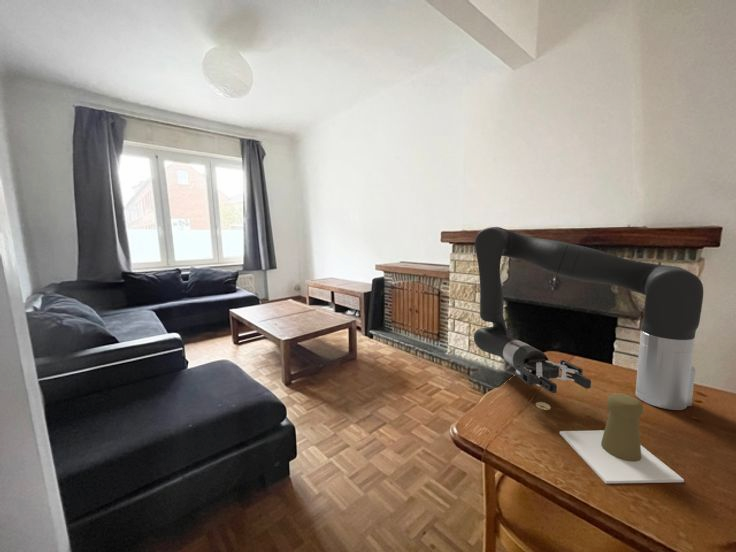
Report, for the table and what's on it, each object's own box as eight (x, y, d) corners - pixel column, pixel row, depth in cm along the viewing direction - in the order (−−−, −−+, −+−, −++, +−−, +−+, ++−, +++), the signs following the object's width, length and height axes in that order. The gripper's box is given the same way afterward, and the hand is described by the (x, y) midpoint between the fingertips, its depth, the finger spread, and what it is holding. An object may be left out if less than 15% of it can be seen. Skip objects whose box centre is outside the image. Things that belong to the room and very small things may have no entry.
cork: (593, 440, 61) (596, 390, 59) (620, 437, 61) (624, 387, 60) (620, 463, 55) (625, 407, 53) (650, 459, 55) (656, 404, 54)
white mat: (621, 432, 64) (621, 429, 64) (683, 482, 51) (684, 479, 51) (559, 433, 64) (559, 431, 64) (605, 483, 51) (605, 480, 51)
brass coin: (541, 402, 76) (541, 400, 76) (553, 408, 74) (553, 407, 74) (532, 405, 75) (532, 404, 75) (544, 412, 72) (544, 410, 72)
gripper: (500, 347, 81) (544, 374, 65) (548, 342, 83) (601, 367, 67) (500, 373, 82) (543, 406, 66) (547, 368, 84) (599, 399, 68)
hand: (572, 387), depth 67 cm, fingers open, 8 cm apart
